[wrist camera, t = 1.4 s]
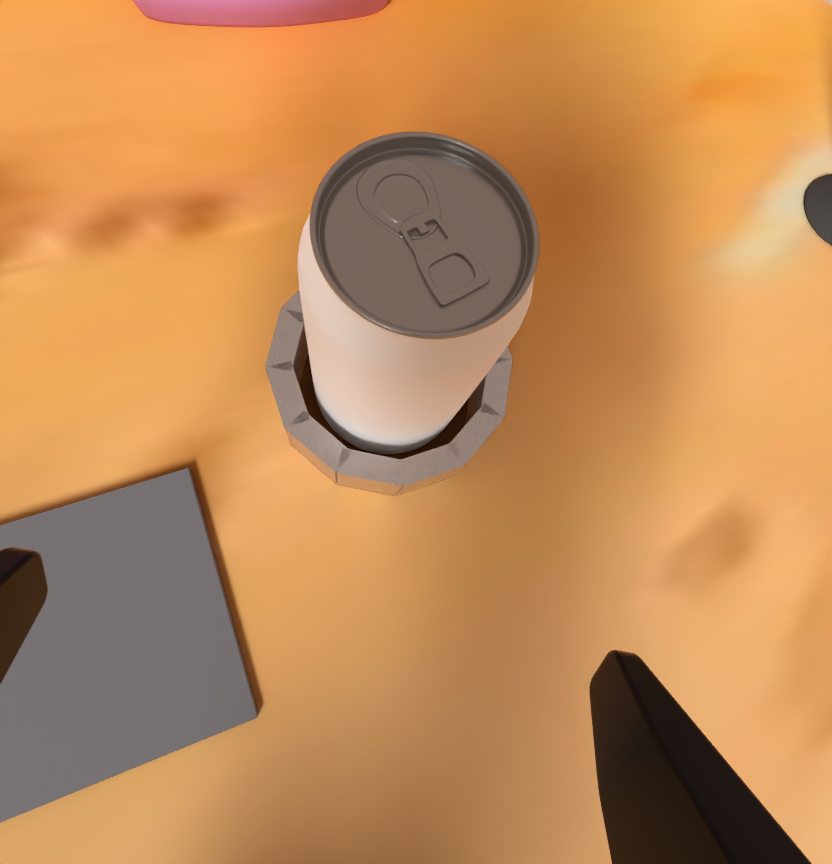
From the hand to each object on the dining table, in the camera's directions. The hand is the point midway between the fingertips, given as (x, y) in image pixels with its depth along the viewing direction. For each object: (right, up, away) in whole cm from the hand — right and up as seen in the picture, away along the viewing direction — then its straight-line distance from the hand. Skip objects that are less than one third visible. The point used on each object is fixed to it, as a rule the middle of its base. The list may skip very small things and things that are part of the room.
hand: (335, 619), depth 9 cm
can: (0, +5, +16) cm, 17 cm away
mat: (-11, -5, +12) cm, 17 cm away
